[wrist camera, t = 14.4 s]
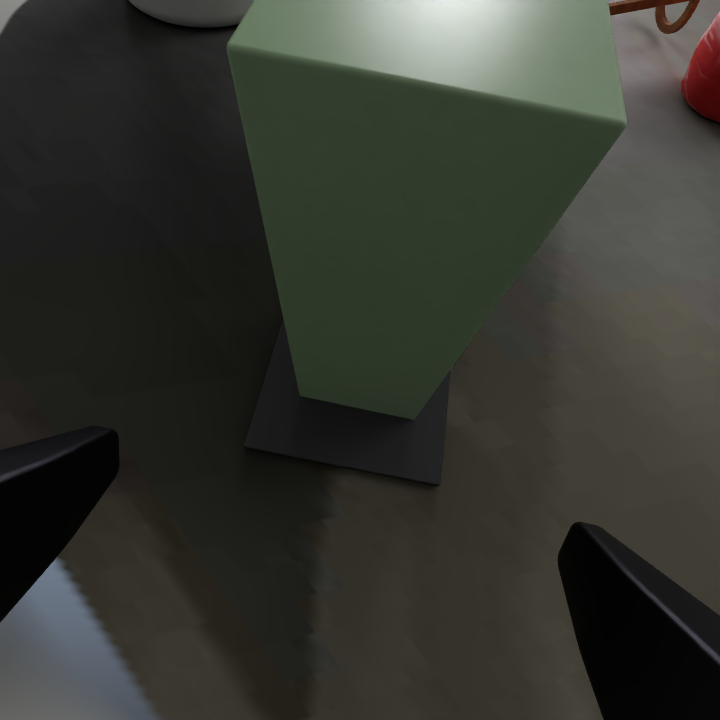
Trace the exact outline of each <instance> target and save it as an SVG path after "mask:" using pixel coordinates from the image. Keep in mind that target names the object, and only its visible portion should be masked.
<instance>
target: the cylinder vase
mask: <svg viewBox="0 0 720 720" xmlns="http://www.w3.org/2000/svg"><path fill="white" fill-rule="evenodd" d="M128 1H129V2H131V3H132V4H133V5H134V6H135V7H136V8H138V9H139V10H141V11H142V12H144V13H146V14H148V15H150V16H152V17H154V18H156V19H159V20H162V21H165V22H168V23H172V24H176V25H182V26H189V27H203V28H210V27H224V26H231V25H236V24H240V22H241V20H242V19H243V17H244V16H245V14H246V12H247V11H248V9H249V7H250V6H251V4H252V3H253V1H254V0H128Z"/></svg>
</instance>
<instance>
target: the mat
mask: <svg viewBox="0 0 720 720" xmlns="http://www.w3.org/2000/svg"><path fill="white" fill-rule="evenodd" d="M449 379H450V371H449V372H448V374H447V375H446V376H445V378H444V379H443V381H442V382H441V383H440V385H439V386H438V387H437V389H436V390H435V392H434V393H433V394H432V396H431V397H430V398H429V400H428V401H427V403H426V404H425V405H424V407H423V408H422V410H421V411H420V412H419V414H418V415H417V416H416V418H415V419H414V420H412V419H408V418H403V417H398V416H393V415H388V414H384V413H379V412H374V411H369V410H365V409H360V408H355V407H350V406H345V405H341V404H336V403H331V402H326V401H322V400H317V399H312V398H307V397H302V396H300V394H299V389H298V384H297V380H296V375H295V370H294V365H293V361H292V356H291V351H290V347H289V342H288V337H287V332H286V328H285V323H284V318H283V321H282V324H281V327H280V331H279V334H278V337H277V340H276V343H275V347H274V350H273V353H272V356H271V360H270V363H269V366H268V369H267V372H266V376H265V379H264V382H263V385H262V389H261V392H260V395H259V398H258V402H257V405H256V408H255V411H254V414H253V418H252V421H251V424H250V427H249V431H248V434H247V437H246V440H245V444H244V447H245V448H249V449H254V450H259V451H264V452H269V453H274V454H279V455H284V456H289V457H294V458H299V459H304V460H309V461H314V462H320V463H325V464H330V465H335V466H340V467H345V468H350V469H355V470H360V471H365V472H370V473H375V474H380V475H385V476H390V477H395V478H400V479H405V480H410V481H415V482H420V483H425V484H430V485H435V486H439V485H440V480H441V469H442V458H443V447H444V435H445V424H446V413H447V402H448V391H449Z"/></svg>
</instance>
